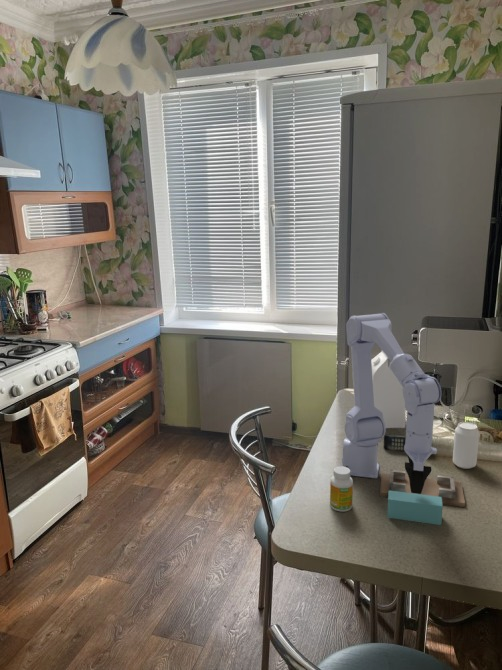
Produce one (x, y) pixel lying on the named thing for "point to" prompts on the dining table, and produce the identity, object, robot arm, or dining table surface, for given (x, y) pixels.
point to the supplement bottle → (341, 489)
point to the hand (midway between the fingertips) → (415, 484)
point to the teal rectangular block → (415, 507)
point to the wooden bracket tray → (425, 487)
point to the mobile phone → (394, 442)
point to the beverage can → (466, 445)
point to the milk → (387, 392)
